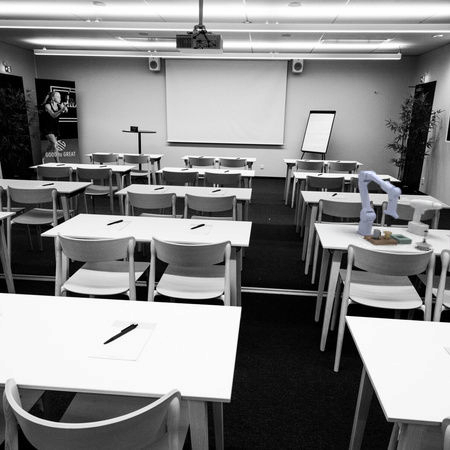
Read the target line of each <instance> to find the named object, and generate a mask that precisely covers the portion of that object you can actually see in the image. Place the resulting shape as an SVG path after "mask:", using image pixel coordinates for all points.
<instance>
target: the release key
mask: <svg viewBox="0 0 450 450" xmlns="http://www.w3.org/2000/svg"><path fill="white" fill-rule="evenodd" d="M382 232H383V235H384V238H386V239H390V234H393V232H392V231H390V230H383V231H382Z"/></svg>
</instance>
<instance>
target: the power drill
mask: <svg viewBox="0 0 450 450" xmlns="http://www.w3.org/2000/svg"><path fill="white" fill-rule="evenodd" d="M409 205H410V207H411V208H413V209H414V213H413V217H412V221H408V224H407V232H408V233H411V234H414V235H417V236H420V235H421V237H422V236H423V237H426V236H427V235H428V233H426V232H424V231H425V230H427V231H428V232H429V227H430V225H428V224H425V223H423V222H421V218H422V215H425V212H426V211H428V210H442V209H443V207H444V206H443V204H442V203H440V202H436V201H432V200H427V199H418V198H417V199H414V198H413V199H411V200H410V201H409ZM425 233H426V235H425Z"/></svg>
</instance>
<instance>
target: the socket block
mask: <svg viewBox="0 0 450 450" xmlns="http://www.w3.org/2000/svg"><path fill="white" fill-rule="evenodd" d="M384 235H385V234H382V235H380V236H379V240H373V235H363V239H364V240H365V239H366V241H368V242H369V243H371V244H372V245H374V246H390V245H391V246H394V245H395V246H398V242H397V241H395V240H393V239H392V238H390V239H386V238H384Z"/></svg>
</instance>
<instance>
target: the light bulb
mask: <svg viewBox="0 0 450 450" xmlns="http://www.w3.org/2000/svg"><path fill="white" fill-rule="evenodd" d="M424 232H426V233H427V234H428V233H429V230H428V231H427V230H425V231H424ZM426 233H425V236H423V237H424V238H422V241H415V243H414V244H415V245H416V246H417V249H418V248H419V249H418V250H422V251H429V250H428V249H430V248H431V247H433V244H430V243H428V242H427V238H426V236H427V235H426Z"/></svg>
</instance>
